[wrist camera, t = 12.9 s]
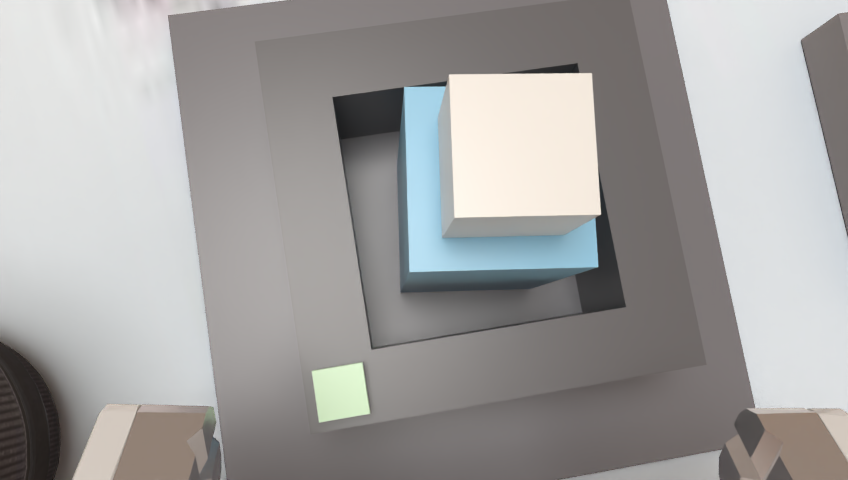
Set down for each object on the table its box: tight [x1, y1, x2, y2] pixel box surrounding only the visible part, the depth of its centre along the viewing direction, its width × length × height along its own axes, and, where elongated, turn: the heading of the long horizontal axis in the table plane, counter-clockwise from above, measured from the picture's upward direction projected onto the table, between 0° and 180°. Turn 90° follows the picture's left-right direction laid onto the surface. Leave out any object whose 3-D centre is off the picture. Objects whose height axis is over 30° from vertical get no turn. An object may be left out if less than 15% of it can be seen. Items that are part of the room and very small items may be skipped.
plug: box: [397, 73, 601, 293], centre depth 18 cm, size 4×4×10 cm
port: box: [168, 0, 755, 480], centre depth 20 cm, size 16×16×5 cm
